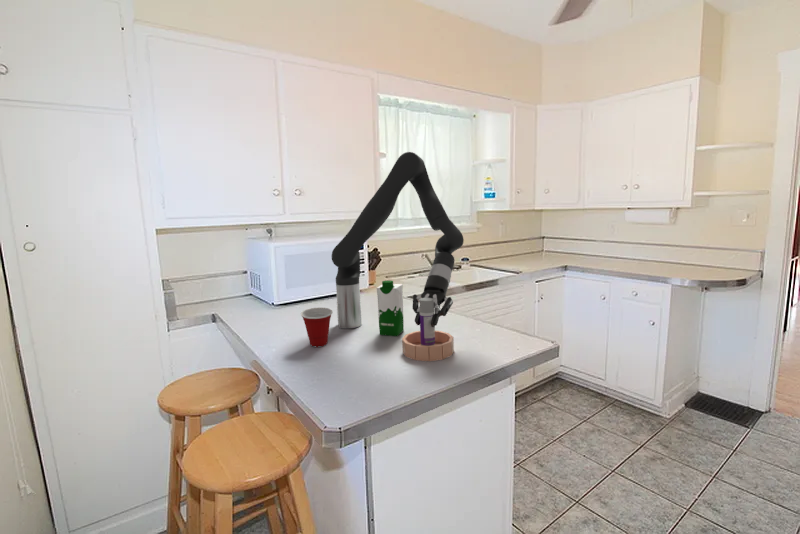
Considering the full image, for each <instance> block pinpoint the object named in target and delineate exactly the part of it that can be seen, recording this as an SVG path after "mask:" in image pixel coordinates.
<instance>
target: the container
mask: <svg viewBox="0 0 800 534" xmlns="http://www.w3.org/2000/svg"><path fill="white" fill-rule="evenodd" d="M419 306H420V325H419V331H420V337H421V345H422V346H432V345H435V331H436V326H435V327H432V326H431V321H432V317H433V314H435V311H434V299H433V298H421V299H420V302H419Z"/></svg>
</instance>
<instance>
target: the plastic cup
mask: <svg viewBox="0 0 800 534" xmlns="http://www.w3.org/2000/svg"><path fill="white" fill-rule="evenodd" d="M332 314H333V310H332V309H330V308H328V307H311V308H307V309H305V310H302V311H300V316H301V317H302V320H303V322H304V326H305V329H306V333H307V337H308V341H309V344H310V346H311V345H312V346H316V347H315V348H319V347H318V346H322V347H324V345H325V346H326V345H327V344H328V341H329V340H328V339H329V332H330V321H331V318H332ZM312 346H311V347H312Z"/></svg>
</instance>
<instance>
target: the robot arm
mask: <svg viewBox="0 0 800 534" xmlns="http://www.w3.org/2000/svg"><path fill="white" fill-rule="evenodd" d="M428 173H429V172H428V171H427V167H426V164H425V161H424V159H423V158H422V157H420V155H418V154H417V153H416V152H413V151H407V152H404V153H401V155H399V157H398V158H397V160H396V161H395V163H394V165H393V167H392V169H391V170H390V171H389V172H388V174H387V176H386V178H385V180H384V181H383V182H382V184H381V185H380V186H379V188H378V189H377V190H376V192H375V193H374V195H373V196H372V197H371V199H370V200H369V201H368V202H367V203H366V205H365V207H364V208H363V209H362V211H361V212H360V214H359V216H358V217H357V219H356V220H355V222H354V223H353V225H352V226H351V228H350V230H349V231H348V232H347V234H346V235H345V236H344V237H343V238H342V239H341V240H340V241H339V242H338V243H337V244H336V246H335V247H334V248H333V250H332V252H331V262H332V263H333V265H335V267H337V272H336V273H337V274H336V276H335V290H336V313H337V315H336V316H337V326H338V329H354V328H358V327H361V326H362V325H363V324H362V307H361V291H360V290H361V289H360V276H361V257H360V250H361V249H362V247H363V246H364V245H365V243H366V242H367V241H368V240H369V239H370V238H371V237H373V236H374V235H375V233H376V232H378V230H379V229H380V228H381V227H382V226H383V225H384V224H385V222H386V221H387V220H388V219H389V217H390V215H391V214H392V212H393V210H394V208H395V206H396V202H397V200H398V197H399V195H400V193H401V191H402V190H403V188H404V187H406V185H407V184H408V183H410V184H411V185H412V187H413V188H414V190H415V192H416V194H417V196H418V198H419V202H420V204H421V208H422V210H423V214H424V215H425V218H426V219H427V221H428V224H429V225H430V227H431V229H432V230H433V231H434V232H435V231H437V232H438V231H441V232H442V233H443V235H442V236H440V237H439V238H438V239H437V241H436V242H435V243H436V244H435V245H434V246H435V247H434V258H433V263H432V264H431V268H430V270H429V272H428V275H427V278H426V281H425V285H424V288H423V291H422V293H421V294H418V295H417V294H413V296H412V310H413V312H414V313H415V317H414V322H415V325H416V326H420V299H421V298H433V299H434V314H433V317H432V321H431V326H432V327H435V328H436V326H437V325H438V322H439V318H441V317H442V316H443V317H446V316H447V314H448V313H449V310H450V309H451V307H452V305H453V304H454V301H453V298H452V297H451V296H449V297H447V292H448V288H449V287H450V283H451V278H452V273H453V268H454V265H455V256H454V255H453V253H454V252H456V251H457V250H459V249H460V248H462V247H463V244H464V241H465V240H464V235H463V233H462V232H461V230H460V228H458V227H457V226H456V225H455V224H454V222H452V220H451V219H450V218H449V216H448V214H447V212H446V210H445V208H444V206H443V204H442V203H441V201H440V200H439V198H438V195H437V193H436V191H435V190H434V187H433V185H432V183H431V179H430V177H429V174H428ZM442 304H443V305H442ZM441 305H442V307H441Z"/></svg>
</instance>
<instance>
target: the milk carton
mask: <svg viewBox="0 0 800 534" xmlns="http://www.w3.org/2000/svg"><path fill="white" fill-rule="evenodd" d="M403 287H404V286H403V283H401V284H400V283H394V280H390V279H388V280H382V281H381V284H380V285H379V286H377V287H376V295H377V296H376V297H377V310H378V311H377V313H378V314H377V315H378V316H377V317H378V329H379V335H380V336H390V337H398V336H400V335H401V333H403V331H404V329H405V328H404V322H405V321H404V298H403Z"/></svg>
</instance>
